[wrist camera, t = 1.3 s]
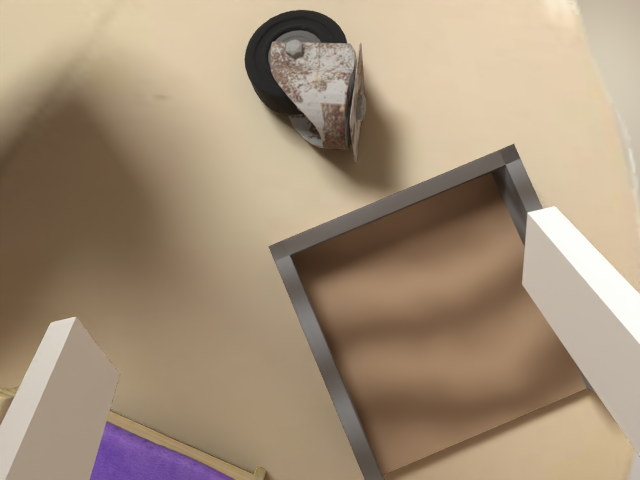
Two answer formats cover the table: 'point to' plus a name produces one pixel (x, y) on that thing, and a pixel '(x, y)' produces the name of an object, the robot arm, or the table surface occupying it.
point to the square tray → (428, 314)
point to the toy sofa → (148, 454)
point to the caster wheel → (310, 77)
